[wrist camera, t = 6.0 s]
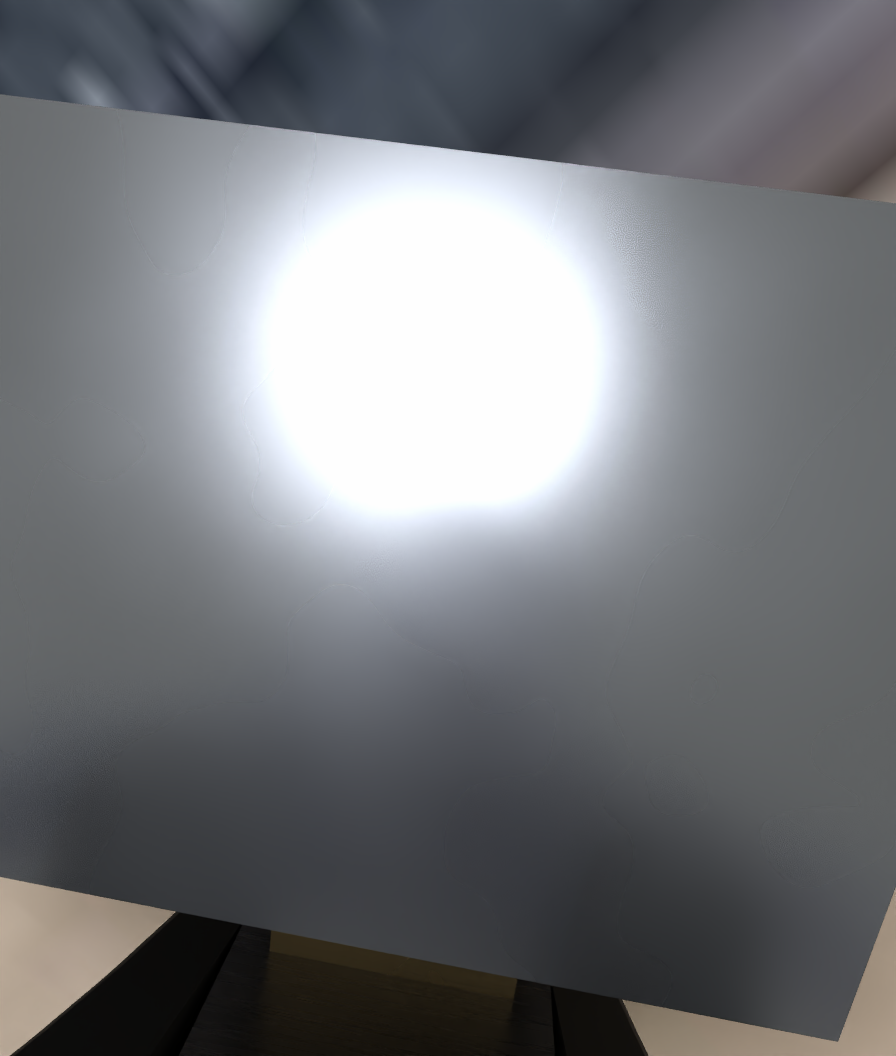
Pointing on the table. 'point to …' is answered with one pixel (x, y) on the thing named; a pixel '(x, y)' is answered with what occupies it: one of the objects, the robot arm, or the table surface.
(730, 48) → the table surface
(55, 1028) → the robot arm
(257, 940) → the two-tone block
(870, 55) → the table surface
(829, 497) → the grey square bracket
